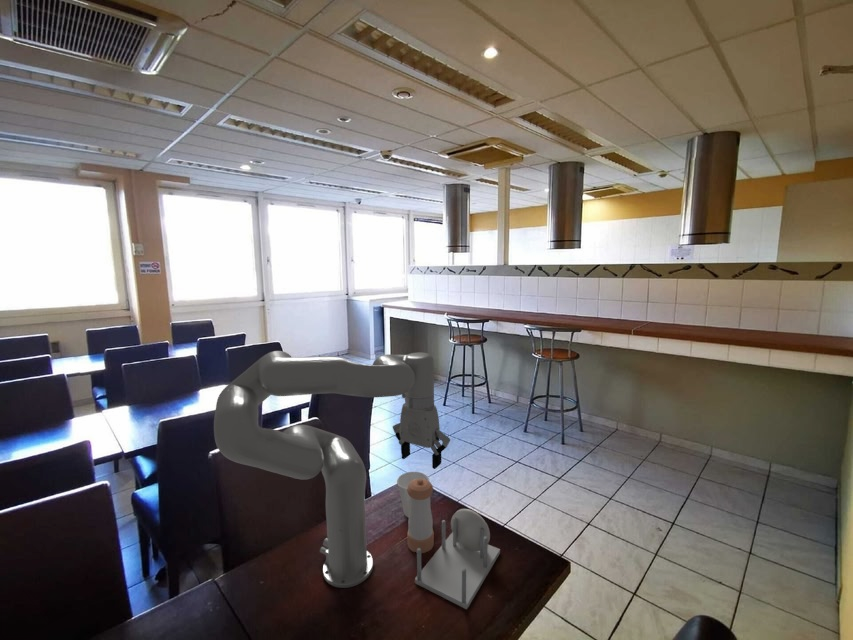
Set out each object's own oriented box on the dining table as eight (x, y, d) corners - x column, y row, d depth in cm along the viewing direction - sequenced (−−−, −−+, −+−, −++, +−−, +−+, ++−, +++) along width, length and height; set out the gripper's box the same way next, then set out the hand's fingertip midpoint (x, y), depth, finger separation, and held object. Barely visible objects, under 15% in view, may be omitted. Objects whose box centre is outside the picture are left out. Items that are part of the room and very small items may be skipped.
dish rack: (414, 583, 97) (414, 537, 95) (453, 534, 113) (453, 494, 111) (466, 609, 89) (467, 561, 87) (499, 553, 106) (501, 511, 104)
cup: (416, 528, 116) (415, 493, 114) (390, 515, 122) (390, 482, 120) (436, 510, 124) (435, 478, 122) (411, 499, 130) (410, 468, 128)
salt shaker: (432, 533, 114) (432, 471, 111) (435, 552, 107) (434, 486, 103) (407, 535, 113) (406, 473, 110) (407, 554, 106) (406, 488, 103)
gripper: (384, 399, 105) (386, 459, 107) (441, 412, 96) (442, 477, 98) (400, 390, 111) (402, 447, 114) (456, 401, 102) (456, 463, 105)
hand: (420, 461), depth 106 cm, fingers open, 9 cm apart
